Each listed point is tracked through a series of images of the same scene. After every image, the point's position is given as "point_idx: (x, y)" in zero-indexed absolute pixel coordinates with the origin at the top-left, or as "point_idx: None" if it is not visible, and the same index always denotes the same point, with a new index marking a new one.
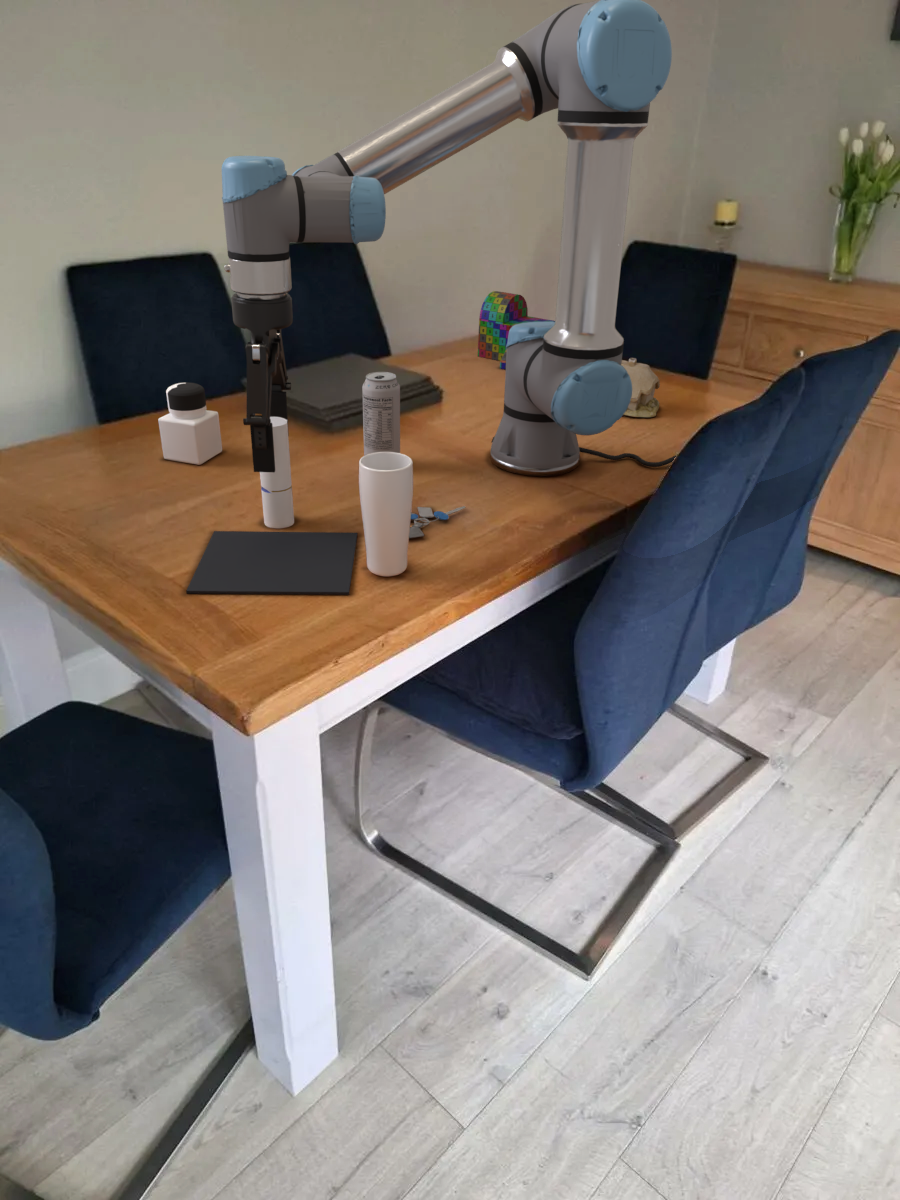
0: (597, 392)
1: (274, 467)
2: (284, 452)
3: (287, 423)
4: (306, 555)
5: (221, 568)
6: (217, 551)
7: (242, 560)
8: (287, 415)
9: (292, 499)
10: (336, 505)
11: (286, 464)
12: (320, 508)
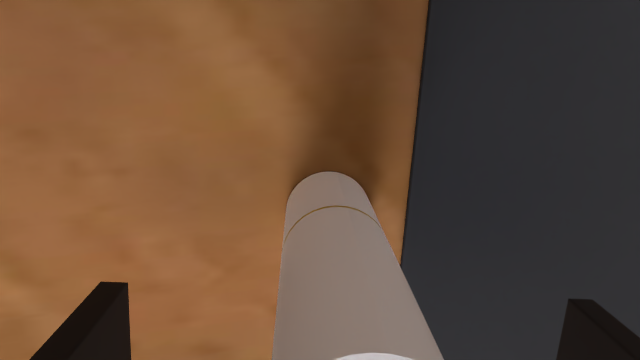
0: None
1: (597, 309)
2: (400, 283)
3: (88, 319)
4: (563, 124)
5: None
6: (507, 340)
7: (565, 279)
8: (46, 343)
9: (338, 191)
10: (205, 48)
11: (385, 253)
12: (229, 99)
